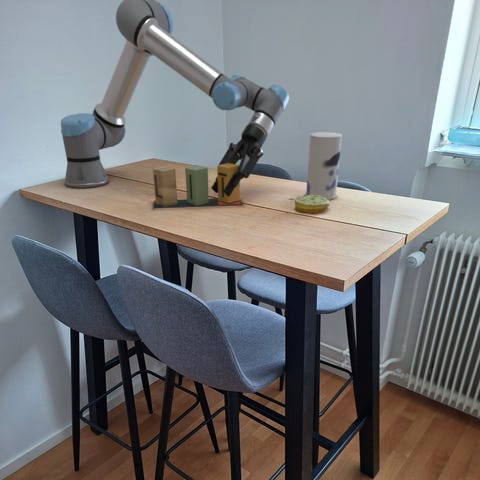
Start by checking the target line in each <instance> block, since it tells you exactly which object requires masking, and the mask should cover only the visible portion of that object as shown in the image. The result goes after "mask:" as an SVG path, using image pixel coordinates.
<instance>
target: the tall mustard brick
mask: <svg viewBox="0 0 480 480" xmlns="http://www.w3.org/2000/svg"><path fill="white" fill-rule="evenodd" d="M239 165H240V164H231V163H227V164H222V165H219V164H217V165H216V167H217V168H216V171H217V174H216V175H217V176H218V193H217V198H218V200H219V201H223V202H226V203H231V202H235V201H239V200H240V201H241V196H240V195H241V188H240V187H241V183H240V182H241V181H240V182H239V184H238V185H237V186H236V187H235V188H234V190H233V192H232V193H231V195H230V196H229V197H228V196H227V195H226V194H225V193H224V192H223V191H224V189H225V187H226V186H227V184H228V183H229V181H230V179H231V178H232V176H233V174H236V173H235V172H237V170H238V167H239ZM236 175H237V174H236ZM217 176H216V177H217Z"/></svg>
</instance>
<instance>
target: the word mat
mask: <svg viewBox="0 0 480 480" xmlns="http://www.w3.org/2000/svg"><path fill="white" fill-rule="evenodd" d="M153 201H154V202H153V209H154V210H155V209H157V210H158V209H179V208H180V209H181V208H184V209H185V208H209V207H237V206H243V203H242V201H241V199H240V200H239V201H235V202H231V203H226V202H223V201H219V200H218V197H217V198H213V197H212V198H209V203H206V204H202V205H198V206H196V205H193V204H190V203H187V198H185V199H177V202H178V204H175V205H171V206H167V207H164V206H161V205H158V204H156V200H155V199H154V200H153Z"/></svg>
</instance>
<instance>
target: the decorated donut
mask: <svg viewBox="0 0 480 480" xmlns="http://www.w3.org/2000/svg"><path fill="white" fill-rule="evenodd" d="M330 205H331V204H330V200H327V199H326V198H325V197H323V196H319V195H306V194H304V195H300V196H297V197H295V198H294V206H295V208H296V209H297V210H298V211H300V212H302V213H306V214H307V213H308V214H315V213H317V214H319V213H323V212H324V211H326V210H327V208H328V207H329V206H330Z"/></svg>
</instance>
